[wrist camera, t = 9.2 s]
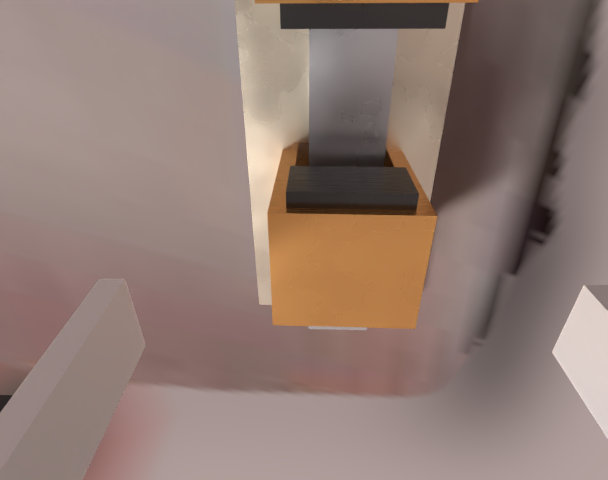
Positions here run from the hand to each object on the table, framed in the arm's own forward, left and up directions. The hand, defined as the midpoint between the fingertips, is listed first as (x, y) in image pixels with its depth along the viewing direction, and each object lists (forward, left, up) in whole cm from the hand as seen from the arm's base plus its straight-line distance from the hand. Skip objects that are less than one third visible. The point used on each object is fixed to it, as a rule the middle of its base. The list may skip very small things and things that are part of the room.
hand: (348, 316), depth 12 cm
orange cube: (0, 0, -9) cm, 9 cm away
